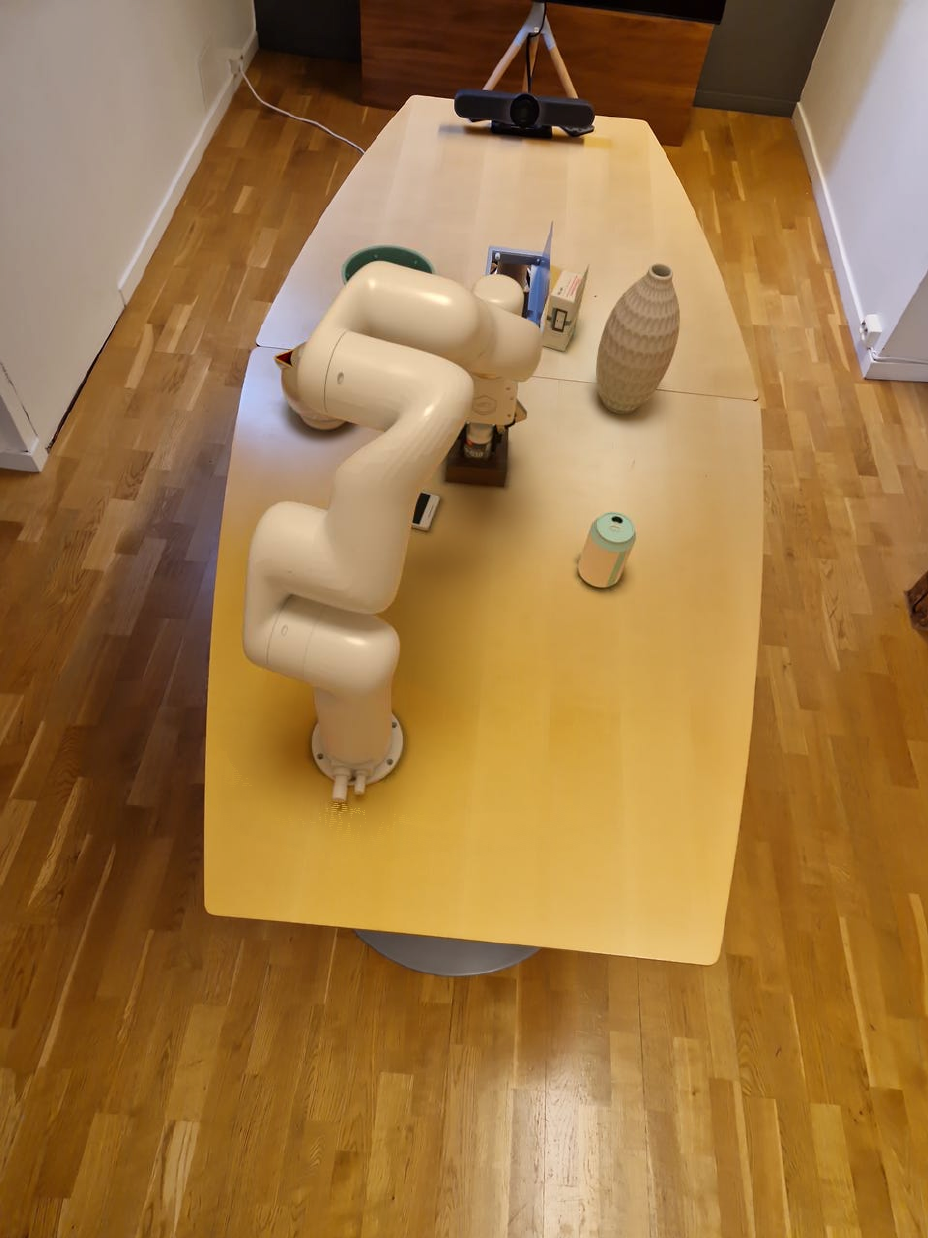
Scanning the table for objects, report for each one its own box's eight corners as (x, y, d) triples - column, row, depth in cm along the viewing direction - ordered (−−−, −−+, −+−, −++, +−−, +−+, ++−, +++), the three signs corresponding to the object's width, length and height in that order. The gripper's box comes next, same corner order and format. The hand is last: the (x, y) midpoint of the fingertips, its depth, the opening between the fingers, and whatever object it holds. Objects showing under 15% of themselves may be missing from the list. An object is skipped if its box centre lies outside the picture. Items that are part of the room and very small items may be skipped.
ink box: (552, 319, 163) (565, 253, 151) (576, 326, 163) (591, 260, 150) (540, 345, 159) (552, 280, 146) (564, 352, 158) (579, 287, 146)
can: (570, 560, 133) (584, 514, 123) (608, 549, 135) (626, 503, 124) (588, 594, 130) (605, 550, 119) (627, 583, 131) (647, 538, 121)
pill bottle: (457, 460, 140) (461, 425, 133) (470, 443, 142) (474, 407, 135) (482, 471, 139) (487, 436, 132) (494, 453, 142) (500, 418, 134)
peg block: (504, 487, 140) (507, 471, 136) (445, 481, 140) (446, 465, 136) (506, 443, 145) (508, 427, 142) (449, 437, 145) (450, 421, 141)
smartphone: (353, 475, 139) (352, 472, 138) (440, 499, 137) (440, 495, 136) (338, 507, 135) (338, 503, 134) (427, 531, 134) (427, 528, 133)
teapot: (278, 440, 141) (266, 367, 127) (286, 385, 148) (275, 310, 134) (382, 445, 143) (381, 373, 129) (385, 390, 150) (385, 316, 136)
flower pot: (373, 307, 161) (370, 232, 147) (446, 336, 158) (451, 263, 145) (330, 357, 153) (323, 283, 139) (407, 388, 150) (408, 316, 136)
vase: (603, 368, 157) (641, 235, 133) (663, 396, 154) (713, 264, 130) (573, 408, 151) (608, 275, 127) (635, 437, 148) (682, 307, 124)
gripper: (431, 368, 120) (426, 454, 136) (545, 380, 121) (527, 464, 136) (434, 334, 124) (430, 421, 139) (545, 346, 125) (528, 431, 140)
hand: (478, 441), depth 138 cm, fingers closed on pill bottle, 4 cm apart
